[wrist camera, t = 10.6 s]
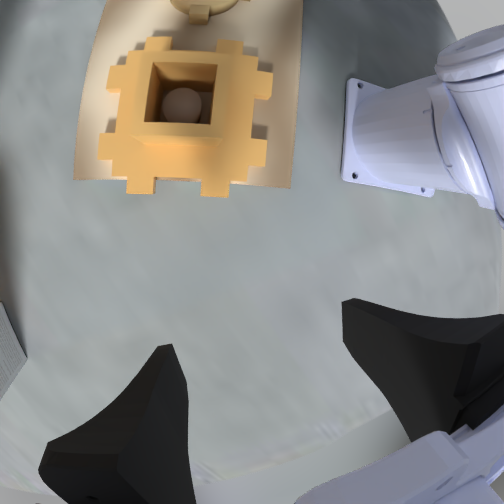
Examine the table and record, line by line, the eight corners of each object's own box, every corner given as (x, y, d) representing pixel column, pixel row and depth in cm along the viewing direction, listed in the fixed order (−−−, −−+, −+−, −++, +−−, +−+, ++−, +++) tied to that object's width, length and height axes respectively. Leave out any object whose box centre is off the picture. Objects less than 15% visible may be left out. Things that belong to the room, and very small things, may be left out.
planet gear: (271, 52, 16) (295, 18, 11) (258, 198, 18) (280, 207, 14) (119, 44, 14) (99, 10, 9) (100, 192, 16) (68, 199, 12)
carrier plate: (299, -21, 15) (317, -48, 11) (284, 187, 20) (306, 191, 16) (125, -32, 12) (116, -61, 8) (80, 179, 17) (52, 181, 13)
